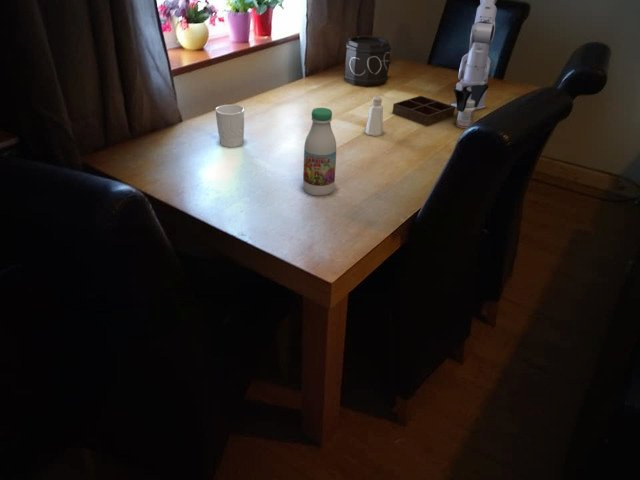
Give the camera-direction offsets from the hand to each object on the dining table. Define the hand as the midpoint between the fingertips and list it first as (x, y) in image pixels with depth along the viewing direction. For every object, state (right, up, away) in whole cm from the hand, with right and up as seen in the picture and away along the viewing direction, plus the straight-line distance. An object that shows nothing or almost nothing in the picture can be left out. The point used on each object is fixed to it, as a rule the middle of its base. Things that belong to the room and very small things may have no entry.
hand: (467, 108), depth 162 cm
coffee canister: (-28, +22, +41) cm, 54 cm away
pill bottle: (0, -5, +3) cm, 6 cm away
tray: (-12, +1, +11) cm, 16 cm away
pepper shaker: (-30, -9, -4) cm, 32 cm away
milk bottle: (-47, -30, -36) cm, 67 cm away
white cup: (-73, -14, -15) cm, 75 cm away
